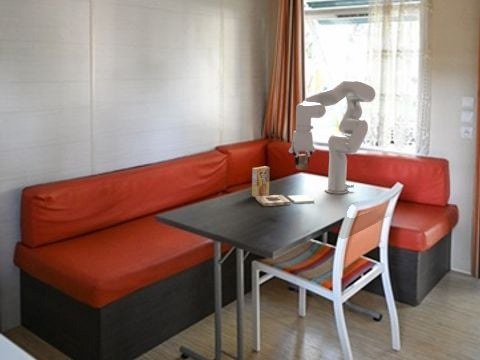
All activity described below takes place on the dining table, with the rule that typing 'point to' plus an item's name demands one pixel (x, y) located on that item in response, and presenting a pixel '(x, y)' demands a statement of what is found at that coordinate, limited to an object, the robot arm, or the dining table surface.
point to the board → (300, 199)
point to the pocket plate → (279, 201)
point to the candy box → (260, 181)
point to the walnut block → (302, 162)
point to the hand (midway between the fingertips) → (301, 164)
